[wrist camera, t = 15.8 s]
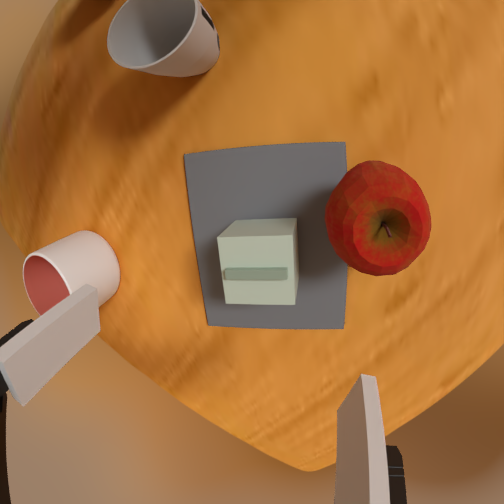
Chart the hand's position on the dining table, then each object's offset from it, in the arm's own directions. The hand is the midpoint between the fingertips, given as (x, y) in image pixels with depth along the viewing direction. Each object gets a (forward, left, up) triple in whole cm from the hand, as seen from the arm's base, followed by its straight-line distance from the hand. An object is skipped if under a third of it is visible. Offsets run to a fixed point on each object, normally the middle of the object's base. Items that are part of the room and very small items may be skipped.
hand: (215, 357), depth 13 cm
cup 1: (+3, -24, -19) cm, 31 cm away
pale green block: (+1, 0, -18) cm, 18 cm away
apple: (-3, +9, -19) cm, 21 cm away
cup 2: (-20, -6, -19) cm, 28 cm away
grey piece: (+1, 0, -19) cm, 19 cm away
